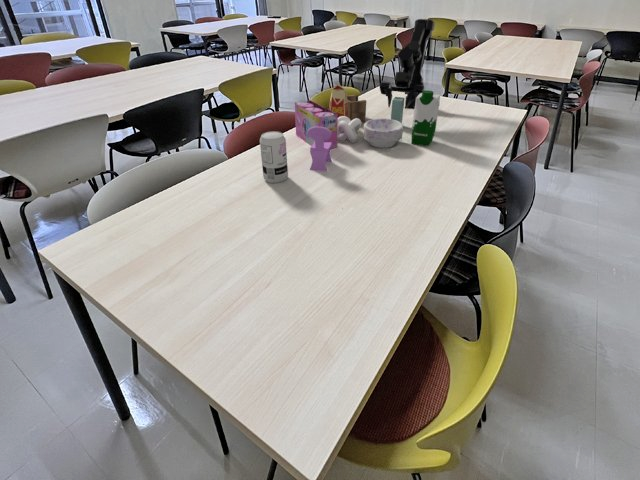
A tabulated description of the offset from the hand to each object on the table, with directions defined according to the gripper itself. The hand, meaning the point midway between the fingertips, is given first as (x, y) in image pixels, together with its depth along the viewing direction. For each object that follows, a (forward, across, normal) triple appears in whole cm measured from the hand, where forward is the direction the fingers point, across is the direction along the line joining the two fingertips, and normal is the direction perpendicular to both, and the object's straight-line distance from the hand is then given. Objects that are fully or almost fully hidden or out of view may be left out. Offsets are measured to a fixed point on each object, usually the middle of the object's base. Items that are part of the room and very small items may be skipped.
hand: (397, 107), depth 167 cm
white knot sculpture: (+22, -15, -10) cm, 29 cm away
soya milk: (+16, +15, -3) cm, 22 cm away
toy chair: (+41, -14, -29) cm, 52 cm away
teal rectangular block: (+5, 0, +7) cm, 9 cm away
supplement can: (+52, -24, -40) cm, 70 cm away
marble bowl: (+21, 0, -9) cm, 23 cm away
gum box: (+26, -26, -14) cm, 39 cm away
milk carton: (+14, -23, -1) cm, 27 cm away
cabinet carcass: (+3, -22, +9) cm, 24 cm away
